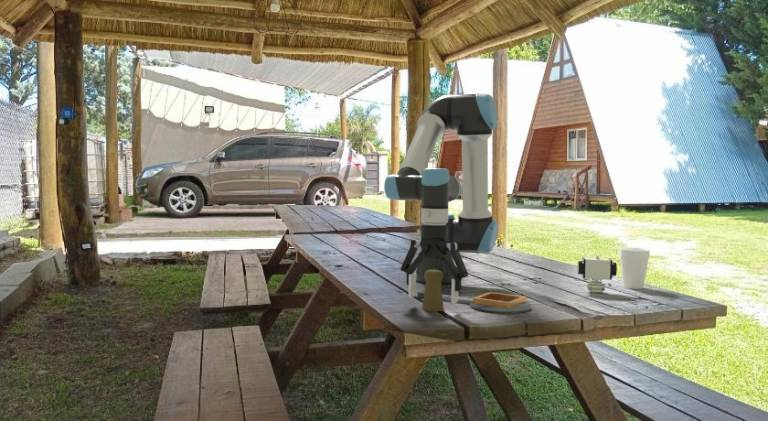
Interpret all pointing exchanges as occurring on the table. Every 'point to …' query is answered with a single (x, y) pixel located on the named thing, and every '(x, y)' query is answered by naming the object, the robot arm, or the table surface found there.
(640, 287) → the foam cup
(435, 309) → the cork
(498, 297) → the round pan with handle
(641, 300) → the table surface
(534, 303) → the table surface
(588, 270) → the pneumatic valve
